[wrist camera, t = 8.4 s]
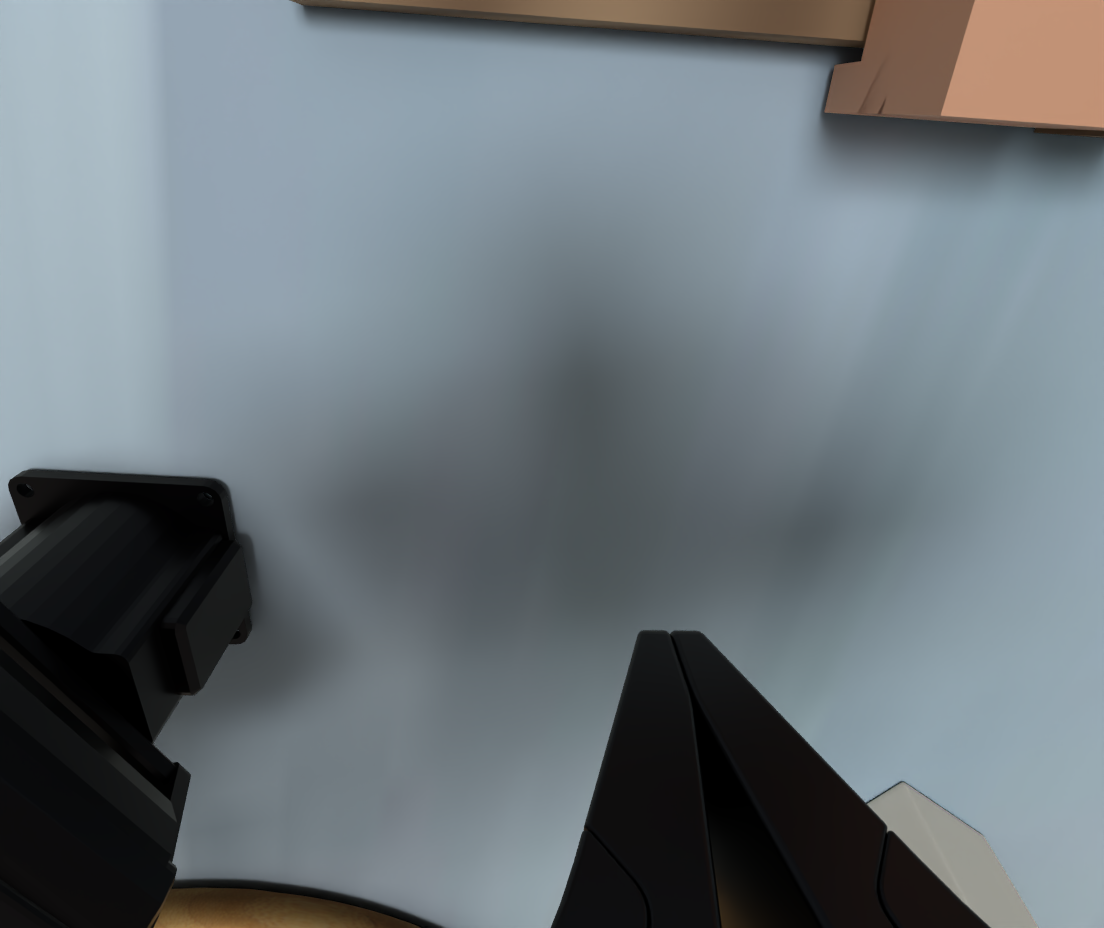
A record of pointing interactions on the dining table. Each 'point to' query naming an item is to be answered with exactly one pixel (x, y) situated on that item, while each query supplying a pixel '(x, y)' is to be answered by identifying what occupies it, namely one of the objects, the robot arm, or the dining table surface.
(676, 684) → the robot arm
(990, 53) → the block
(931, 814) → the milk
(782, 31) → the rail
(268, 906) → the wooden plate with food
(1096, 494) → the dining table surface
